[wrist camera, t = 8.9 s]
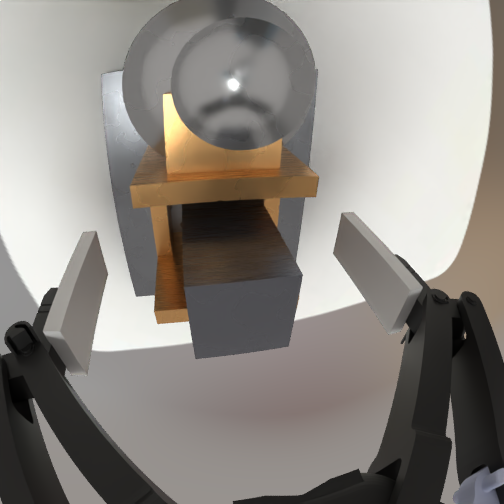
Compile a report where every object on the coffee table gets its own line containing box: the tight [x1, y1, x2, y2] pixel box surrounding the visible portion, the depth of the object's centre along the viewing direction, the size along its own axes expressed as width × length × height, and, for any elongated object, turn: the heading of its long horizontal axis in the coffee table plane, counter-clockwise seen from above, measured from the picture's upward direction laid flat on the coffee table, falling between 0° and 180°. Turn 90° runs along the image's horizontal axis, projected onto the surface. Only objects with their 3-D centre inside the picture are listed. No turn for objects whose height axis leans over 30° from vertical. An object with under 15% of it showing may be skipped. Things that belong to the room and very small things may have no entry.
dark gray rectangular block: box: [182, 199, 303, 359], centre depth 16 cm, size 4×4×12 cm
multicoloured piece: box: [101, 0, 319, 324], centre depth 15 cm, size 22×14×12 cm, turn 178°
